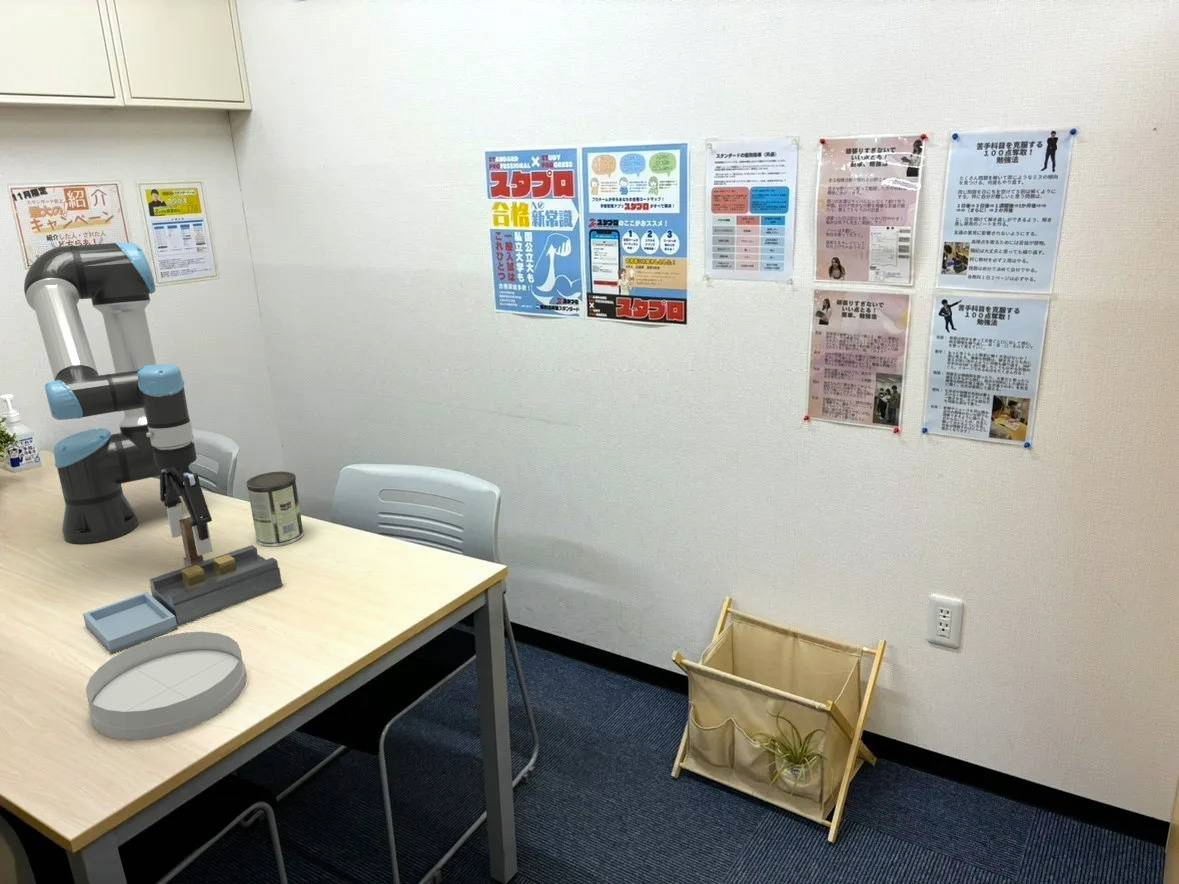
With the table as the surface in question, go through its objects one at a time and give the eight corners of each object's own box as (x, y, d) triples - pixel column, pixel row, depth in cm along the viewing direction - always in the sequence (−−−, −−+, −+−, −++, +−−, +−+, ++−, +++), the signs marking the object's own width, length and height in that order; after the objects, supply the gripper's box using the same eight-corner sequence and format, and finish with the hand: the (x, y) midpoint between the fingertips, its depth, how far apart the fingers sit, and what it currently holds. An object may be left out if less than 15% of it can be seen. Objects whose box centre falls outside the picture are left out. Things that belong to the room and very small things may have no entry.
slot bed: (154, 604, 157) (148, 578, 155) (254, 568, 170) (251, 544, 169) (178, 625, 149) (172, 598, 147) (282, 586, 162) (278, 561, 161)
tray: (85, 625, 149) (82, 613, 149) (149, 603, 157) (146, 591, 156) (111, 654, 140) (108, 641, 139) (177, 628, 148) (175, 616, 147)
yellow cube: (215, 573, 160) (212, 559, 159) (230, 568, 162) (228, 554, 161) (221, 578, 158) (219, 564, 157) (237, 572, 160) (234, 558, 159)
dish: (63, 709, 126) (56, 681, 125) (197, 643, 143) (192, 618, 142) (140, 761, 114) (133, 731, 113) (275, 682, 132) (271, 655, 130)
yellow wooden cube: (183, 584, 156) (180, 570, 155) (199, 578, 158) (197, 564, 157) (189, 589, 154) (187, 575, 153) (206, 583, 156) (203, 569, 155)
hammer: (185, 571, 170) (175, 518, 166) (198, 567, 172) (188, 514, 168) (196, 579, 166) (186, 525, 162) (209, 575, 168) (199, 521, 164)
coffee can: (274, 526, 191) (265, 469, 187) (313, 530, 189) (305, 472, 184) (245, 544, 182) (235, 485, 177) (285, 549, 179) (276, 489, 175)
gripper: (130, 436, 166) (150, 533, 172) (177, 462, 150) (197, 568, 156) (168, 428, 171) (186, 522, 177) (218, 451, 155) (236, 555, 161)
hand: (191, 544), depth 167 cm, fingers open, 12 cm apart
